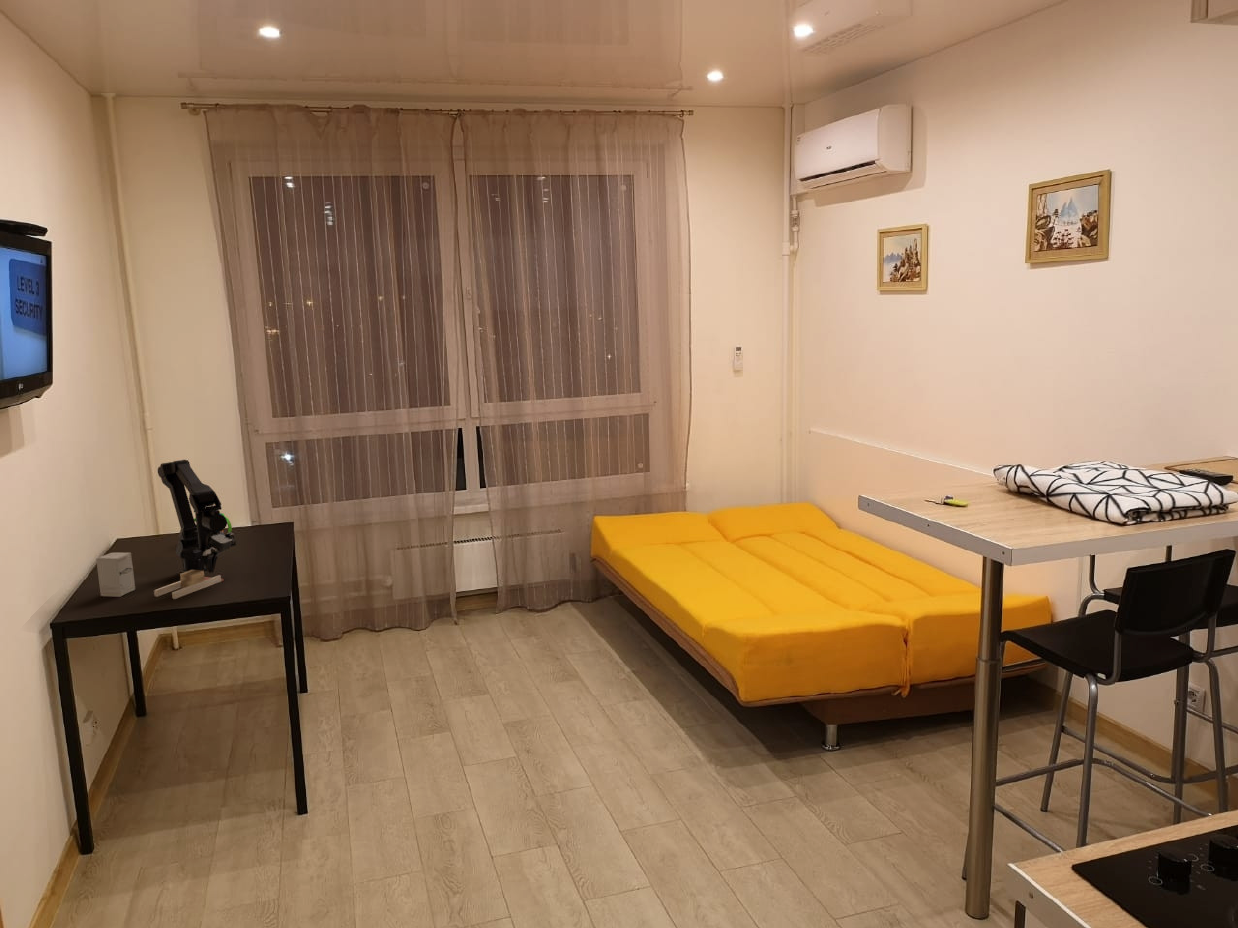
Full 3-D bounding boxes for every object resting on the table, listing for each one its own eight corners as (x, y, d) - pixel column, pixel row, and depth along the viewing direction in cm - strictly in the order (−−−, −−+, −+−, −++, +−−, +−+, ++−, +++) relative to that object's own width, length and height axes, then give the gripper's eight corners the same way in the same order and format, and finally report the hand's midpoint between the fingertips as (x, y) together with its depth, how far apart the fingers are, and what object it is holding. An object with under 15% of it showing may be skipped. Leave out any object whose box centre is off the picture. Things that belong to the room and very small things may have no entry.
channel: (154, 596, 299) (154, 590, 299) (204, 578, 317) (203, 572, 317) (175, 598, 296) (174, 592, 296) (223, 580, 314) (223, 574, 314)
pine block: (181, 588, 307) (180, 573, 306) (193, 584, 311) (192, 569, 310) (193, 590, 305) (191, 575, 304) (205, 585, 309) (203, 570, 308)
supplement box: (120, 597, 300) (115, 558, 297) (100, 596, 301) (95, 558, 299) (136, 589, 307) (131, 552, 305) (116, 589, 308) (111, 551, 306)
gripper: (202, 535, 300) (208, 582, 303) (246, 521, 317) (250, 566, 320) (176, 533, 305) (182, 579, 307) (220, 519, 321) (225, 564, 324)
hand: (211, 572), depth 315 cm, fingers closed
